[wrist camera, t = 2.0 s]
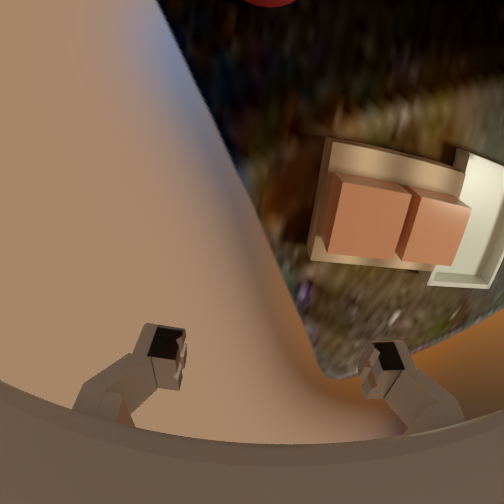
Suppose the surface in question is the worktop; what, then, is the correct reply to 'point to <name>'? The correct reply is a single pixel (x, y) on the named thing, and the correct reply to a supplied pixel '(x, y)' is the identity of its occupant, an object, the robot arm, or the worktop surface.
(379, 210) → the tile
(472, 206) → the tray
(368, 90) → the worktop surface
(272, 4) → the beer can
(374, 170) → the bench
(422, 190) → the tile
